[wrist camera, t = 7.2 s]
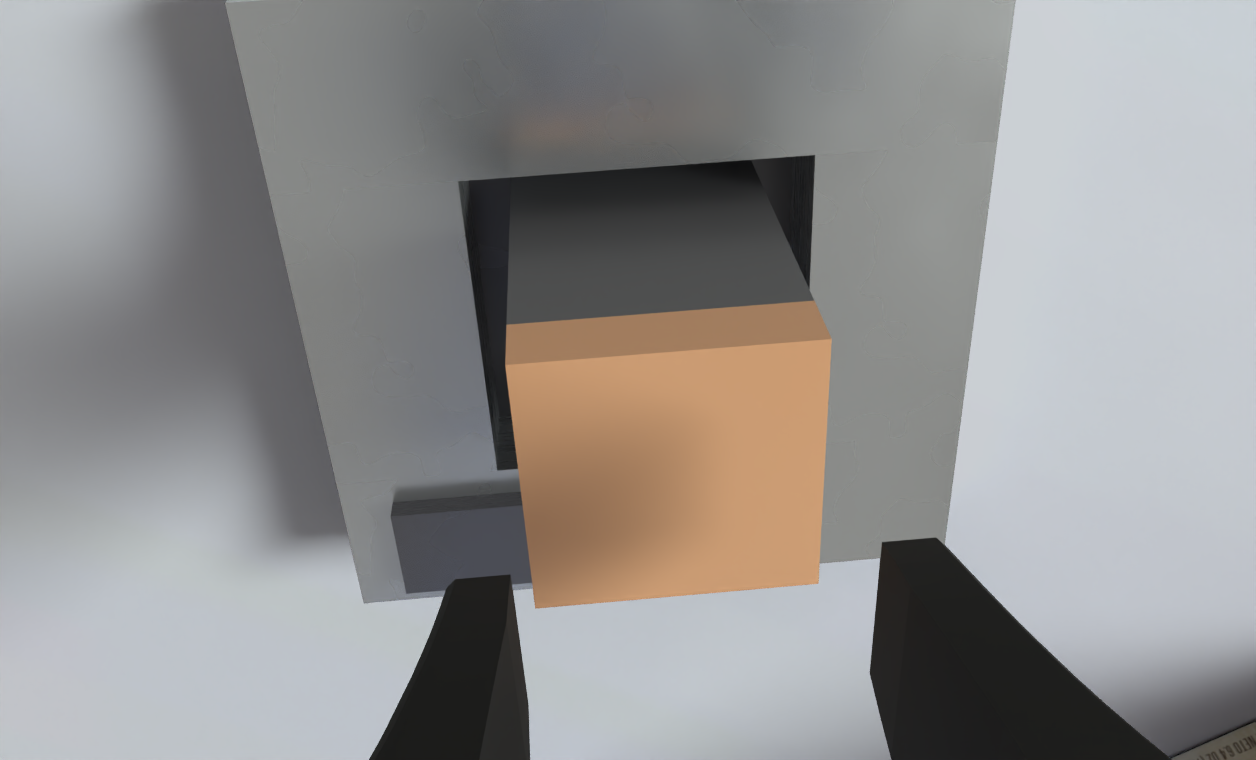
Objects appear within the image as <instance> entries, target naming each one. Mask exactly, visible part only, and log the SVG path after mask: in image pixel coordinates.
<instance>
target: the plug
mask: <svg viewBox="0 0 1256 760" xmlns="http://www.w3.org/2000/svg"><path fill="white" fill-rule="evenodd" d="M831 344H832V338H831V336H830V334H829V332H828V330H827V327H826V325H825V323H824V321H823V318H822V316H821V314H820V312H819V310H818V307H817V305H816V303H815V301H814V299H813V296H812V294H811V292H810V290H809V287H808V285H807V283H806V281H805V279H804V276H803V274H802V272H801V270H800V268H799V265H798V263H797V261H796V259H795V256H794V254H793V252H792V250H791V248H790V245H789V243H788V241H787V239H786V237H785V234H784V232H783V230H782V228H781V225H780V223H779V221H778V219H777V217H776V214H775V212H774V210H773V208H772V206H771V203H770V201H769V199H768V197H767V194H766V192H765V190H764V188H763V186H762V183H761V181H760V179H759V177H758V175H757V172H756V170H755V168H754V166H753V163H752V161H751V160H740V161H727V162H713V163H699V164H686V165H672V166H659V167H645V168H632V169H618V170H605V171H591V172H577V173H564V174H550V175H537V176H523V177H511V195H510V227H509V260H508V292H507V325H506V357H505V367H506V375H507V383H508V391H509V399H510V407H511V416H512V424H513V432H514V440H515V448H516V456H517V464H518V472H519V480H520V488H521V496H522V505H523V513H524V521H525V529H526V537H527V545H528V553H529V561H530V569H531V577H532V585H533V594H534V602H535V608H546V607H558V606H569V605H581V604H592V603H603V602H615V601H626V600H637V599H649V598H660V597H671V596H683V595H694V594H706V593H717V592H728V591H740V590H751V589H762V588H774V587H785V586H796V585H808V584H818V581H819V562H820V544H821V526H822V508H823V490H824V471H825V453H826V435H827V417H828V399H829V380H830V362H831Z"/></svg>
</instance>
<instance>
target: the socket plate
mask: <svg viewBox="0 0 1256 760" xmlns="http://www.w3.org/2000/svg"><path fill="white" fill-rule="evenodd" d="M1015 1H1016V0H227V1H226V2H225V6H226V10H227V15H228V19H229V23H230V28H231V32H232V36H233V41H234V45H235V49H236V54H237V58H238V62H239V67H240V71H241V75H242V79H243V84H244V88H245V92H246V97H247V101H248V105H249V110H250V114H251V118H252V123H253V127H254V131H255V136H256V140H257V144H258V149H259V153H260V157H261V161H262V166H263V170H264V174H265V179H266V183H267V187H268V192H269V196H270V200H271V205H272V209H273V213H274V218H275V222H276V226H277V231H278V235H279V239H280V243H281V248H282V252H283V256H284V261H285V265H286V269H287V274H288V278H289V282H290V287H291V291H292V295H293V300H294V304H295V308H296V313H297V317H298V321H299V325H300V330H301V334H302V338H303V343H304V347H305V351H306V356H307V360H308V364H309V369H310V373H311V377H312V382H313V386H314V390H315V395H316V399H317V403H318V407H319V412H320V416H321V420H322V425H323V429H324V433H325V438H326V442H327V446H328V451H329V455H330V459H331V464H332V468H333V472H334V477H335V481H336V485H337V489H338V494H339V498H340V502H341V507H342V511H343V515H344V520H345V524H346V528H347V533H348V537H349V541H350V546H351V550H352V554H353V558H354V563H355V567H356V571H357V576H358V580H359V584H360V589H361V593H362V597H363V602H364V603H372V602H384V601H395V600H407V599H418V598H429V597H441V596H444V594H445V590H446V588H447V587H448V586H449V585H450V584H451V583H452V582H453V581H454V580H455V579H463V578H475V577H486V576H498V575H509V574H511V581H512V588H513V590H521V589H532V588H533V585H532V577H531V569H530V561H529V553H528V545H527V537H526V529H525V521H524V513H523V505H522V496H521V488H520V480H519V472H518V464H517V456H516V448H515V440H514V432H513V424H512V416H511V407H510V399H509V391H508V383H507V375H506V367H505V357H506V325H507V292H508V260H509V227H510V195H511V177H523V176H537V175H550V174H564V173H577V172H591V171H605V170H618V169H632V168H645V167H659V166H672V165H686V164H699V163H713V162H727V161H740V160H751V161H752V163H753V166H754V168H755V170H756V172H757V175H758V177H759V179H760V181H761V183H762V186H763V188H764V190H765V192H766V194H767V197H768V199H769V201H770V203H771V206H772V208H773V210H774V212H775V214H776V217H777V219H778V221H779V223H780V225H781V228H782V230H783V232H784V234H785V237H786V239H787V241H788V243H789V245H790V248H791V250H792V252H793V254H794V256H795V259H796V261H797V263H798V265H799V268H800V270H801V272H802V274H803V276H804V279H805V281H806V283H807V285H808V287H809V290H810V292H811V294H812V296H813V299H814V301H815V303H816V305H817V307H818V310H819V312H820V314H821V316H822V318H823V321H824V323H825V325H826V327H827V330H828V332H829V334H830V336H831V338H832V344H831V362H830V380H829V399H828V417H827V435H826V453H825V471H824V490H823V508H822V526H821V544H820V562H819V563H830V562H841V561H853V560H864V559H876V558H881V547H882V542H889V541H900V540H912V539H923V538H935V537H936V538H937V539H939V540H940V541H941V542H942V543H943V544H944V545H945V538H946V530H947V522H948V515H949V507H950V499H951V492H952V484H953V476H954V469H955V461H956V453H957V446H958V438H959V430H960V423H961V415H962V407H963V400H964V392H965V384H966V377H967V369H968V361H969V354H970V346H971V338H972V331H973V323H974V315H975V308H976V300H977V292H978V285H979V277H980V269H981V262H982V254H983V246H984V239H985V231H986V223H987V216H988V208H989V200H990V193H991V185H992V177H993V170H994V162H995V154H996V147H997V139H998V131H999V124H1000V116H1001V108H1002V101H1003V93H1004V85H1005V78H1006V70H1007V62H1008V55H1009V47H1010V39H1011V32H1012V24H1013V16H1014V9H1015Z"/></svg>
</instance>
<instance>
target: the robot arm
mask: <svg viewBox="0 0 1256 760" xmlns="http://www.w3.org/2000/svg"><path fill="white" fill-rule="evenodd" d="M870 676H871V680H872V684H873V688H874V692H875V696H876V701H877V705H878V709H879V713H880V717H881V721H882V725H883V729H884V732H885V736H886V740H887V744H888V748H889V751H890V755H891V759H892V760H1172V759H1171V758H1169V757H1168V756H1167V755H1166V754H1164V753H1163V752H1162V751H1161V750H1159V749H1158V748H1157V747H1156V746H1155V745H1153V744H1152V743H1151V742H1150V741H1148V740H1147V739H1146V738H1145V737H1144V736H1142V735H1141V734H1140V733H1139V732H1138V731H1136V730H1135V729H1134V728H1133V727H1132V726H1131V725H1129V724H1128V723H1127V722H1126V721H1125V720H1124V719H1122V718H1121V717H1120V716H1119V715H1118V714H1117V713H1115V712H1114V711H1113V710H1112V709H1111V708H1110V707H1108V706H1107V705H1106V704H1105V703H1104V702H1103V701H1102V700H1101V699H1099V698H1098V697H1097V696H1096V695H1095V694H1094V693H1093V692H1092V691H1091V690H1089V689H1088V688H1087V687H1086V686H1085V685H1084V684H1083V683H1082V682H1081V681H1080V680H1078V679H1077V678H1076V677H1075V676H1074V675H1073V674H1072V673H1071V672H1070V671H1069V670H1068V669H1067V668H1066V667H1065V666H1064V665H1063V664H1062V663H1061V662H1059V661H1058V660H1057V659H1056V658H1055V657H1054V656H1053V655H1052V654H1051V653H1050V652H1049V651H1048V650H1047V649H1046V648H1045V647H1044V646H1043V645H1042V644H1041V643H1039V642H1038V641H1037V640H1036V639H1035V638H1034V637H1033V636H1032V635H1031V634H1030V633H1029V632H1028V631H1027V630H1026V629H1025V628H1024V627H1023V626H1022V625H1021V624H1020V623H1019V622H1018V621H1017V620H1016V619H1015V618H1014V617H1013V616H1012V615H1011V614H1010V613H1009V612H1008V611H1007V610H1006V609H1005V608H1004V607H1003V606H1002V604H1001V603H1000V602H999V601H998V600H997V599H996V598H995V597H994V596H993V595H992V594H991V593H990V592H989V591H988V590H987V589H986V588H985V587H984V586H983V585H982V584H981V583H980V582H979V581H978V580H977V579H976V577H975V576H974V575H973V574H972V573H971V572H970V571H969V570H968V569H967V568H966V567H965V566H964V565H963V564H962V563H961V562H960V561H959V559H958V558H957V557H956V556H955V555H954V554H953V553H952V552H951V551H950V550H949V549H948V548H947V547H946V546H945V545H944V544H943V543H942V542H941V541H940V540H939V539H937V538H936V537H935V538H923V539H912V540H900V541H889V542H882V547H881V558H880V568H879V579H878V590H877V601H876V612H875V623H874V634H873V644H872V655H871V666H870ZM369 760H530V743H529V710H528V698H527V691H526V684H525V676H524V669H523V662H522V654H521V647H520V640H519V632H518V625H517V618H516V610H515V603H514V596H513V588H512V581H511V574H509V575H498V576H486V577H475V578H463V579H455V580H454V581H453V582H452V583H451V584H450V585H449V586H448V587H447V588H446V590H445V594H444V597H443V600H442V603H441V606H440V609H439V612H438V615H437V617H436V620H435V623H434V625H433V628H432V630H431V633H430V635H429V638H428V640H427V643H426V645H425V648H424V650H423V652H422V654H421V657H420V659H419V661H418V663H417V666H416V668H415V670H414V673H413V675H412V677H411V679H410V681H409V683H408V685H407V687H406V689H405V691H404V693H403V695H402V697H401V699H400V701H399V703H398V705H397V707H396V710H395V712H394V714H393V716H392V718H391V720H390V722H389V724H388V726H387V728H386V730H385V732H384V734H383V735H382V737H381V739H380V741H379V743H378V745H377V747H376V748H375V750H374V752H373V754H372V755H371V757H370V759H369Z"/></svg>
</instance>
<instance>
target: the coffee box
mask: <svg viewBox="0 0 1256 760" xmlns="http://www.w3.org/2000/svg"><path fill="white" fill-rule="evenodd" d="M1171 759H1172V760H1256V722H1253V723H1251V724H1249V725H1246V726H1244V727H1242V728H1240V729H1237V730H1235V731H1233V732H1230V733H1228V734H1226V735H1224V736H1221V737H1219V738H1217V739H1215V740H1212V741H1210V742H1208V743H1205V744H1203V745H1201V746H1198V747H1196V748H1194V749H1192V750H1190V751H1187V752H1185V753H1183V754H1180V755H1178V756H1176V757H1173V758H1171Z"/></svg>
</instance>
